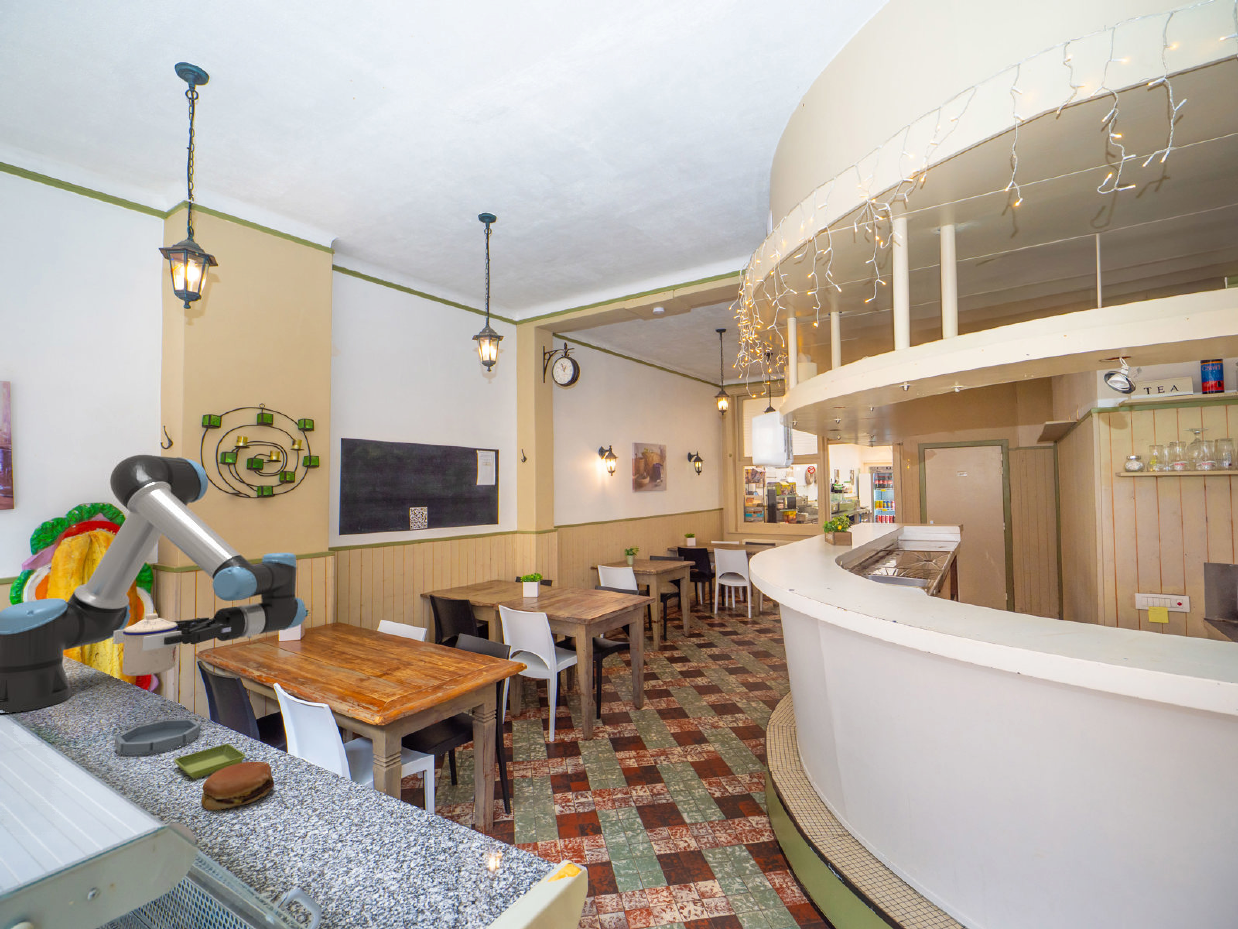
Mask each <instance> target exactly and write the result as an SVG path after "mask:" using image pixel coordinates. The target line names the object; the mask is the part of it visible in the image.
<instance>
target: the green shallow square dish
mask: <svg viewBox="0 0 1238 929" xmlns="http://www.w3.org/2000/svg"><path fill="white" fill-rule="evenodd" d="M246 756H247V755H246V754H245V753H243V752H242V751H241V750H238V749H237V748H236V747H234V745H232V744H230V743H224V744H220V745H217V746H214V747H210V748H207V749H204V750H200V751H196V752H193V753H190V754H187V755H182V756H179V757H176V758H174V759H173V762H174V763H175V764H176V765H177V766H178V767H179V768H180V769H181V770H182V771H184V773H186V774H187V775H188V776H189V777H190V778H192V779H194V780H195V778H196V779H199V778H203V777H205V776H208V775H212V774H213V773H215V772H217V771H219V770H221V769H223V768H225V767H228V766H231V765H234V764H239V763H242V762H243V760H244V759H245V758H246Z"/></svg>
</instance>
